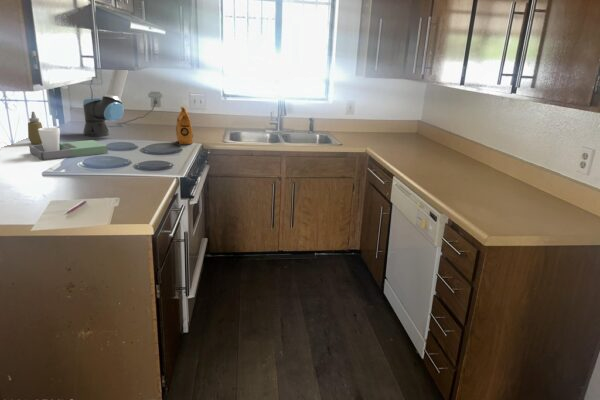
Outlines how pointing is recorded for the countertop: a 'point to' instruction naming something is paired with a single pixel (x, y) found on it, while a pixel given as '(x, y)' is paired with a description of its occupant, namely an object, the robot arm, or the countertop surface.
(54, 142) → the foam cup
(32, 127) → the squeeze bottle
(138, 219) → the countertop surface
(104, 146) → the grey green tray
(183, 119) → the coffee package
